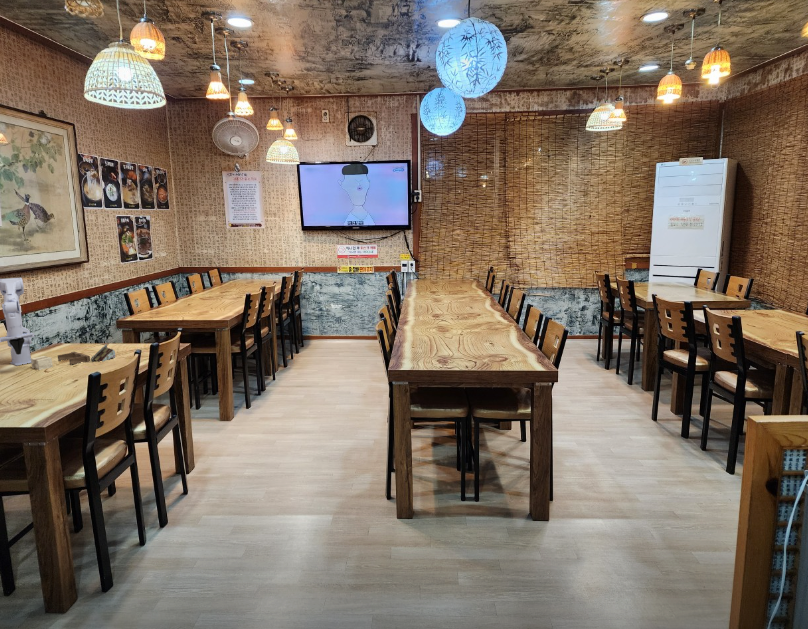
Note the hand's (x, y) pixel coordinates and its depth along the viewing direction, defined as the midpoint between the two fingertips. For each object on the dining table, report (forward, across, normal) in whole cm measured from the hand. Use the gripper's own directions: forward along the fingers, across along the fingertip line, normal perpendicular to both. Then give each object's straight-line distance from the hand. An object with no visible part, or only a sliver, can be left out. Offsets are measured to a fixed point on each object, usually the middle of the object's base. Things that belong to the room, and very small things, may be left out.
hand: (18, 354), depth 250 cm
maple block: (+9, +9, 0) cm, 13 cm away
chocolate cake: (+10, +34, -11) cm, 37 cm away
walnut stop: (+9, +23, 0) cm, 25 cm away
